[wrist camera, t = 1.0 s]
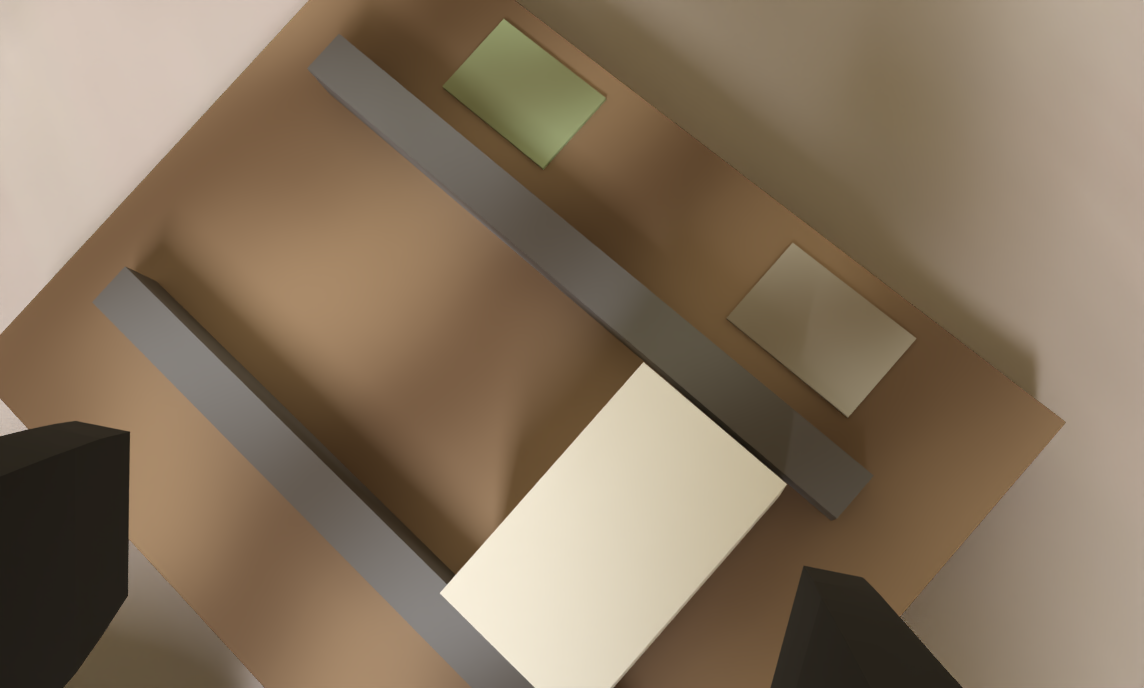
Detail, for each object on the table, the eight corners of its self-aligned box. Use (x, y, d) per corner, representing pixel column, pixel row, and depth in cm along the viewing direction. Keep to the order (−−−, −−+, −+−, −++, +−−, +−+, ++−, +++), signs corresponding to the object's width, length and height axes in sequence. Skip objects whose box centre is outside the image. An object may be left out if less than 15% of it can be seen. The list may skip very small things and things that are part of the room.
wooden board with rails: (1035, 434, 21) (1087, 413, 18) (579, 969, 20) (549, 1043, 17) (420, -43, 25) (375, -126, 22) (31, 381, 25) (-71, 356, 22)
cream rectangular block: (779, 496, 19) (786, 484, 16) (602, 700, 19) (575, 728, 16) (658, 392, 20) (643, 362, 17) (487, 587, 20) (439, 593, 17)
